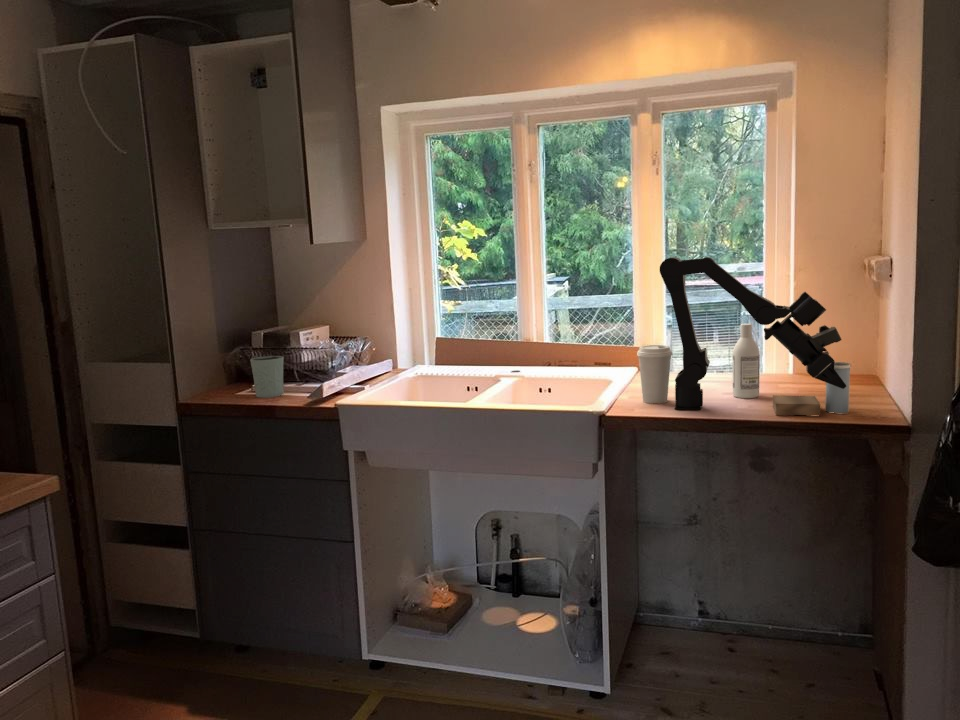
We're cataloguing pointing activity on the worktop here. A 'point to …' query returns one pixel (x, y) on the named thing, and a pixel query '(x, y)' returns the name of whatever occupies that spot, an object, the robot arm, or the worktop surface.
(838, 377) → the robot arm
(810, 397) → the base block
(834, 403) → the canister
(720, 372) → the worktop surface
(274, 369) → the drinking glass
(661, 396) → the coffee cup
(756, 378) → the bath foam
